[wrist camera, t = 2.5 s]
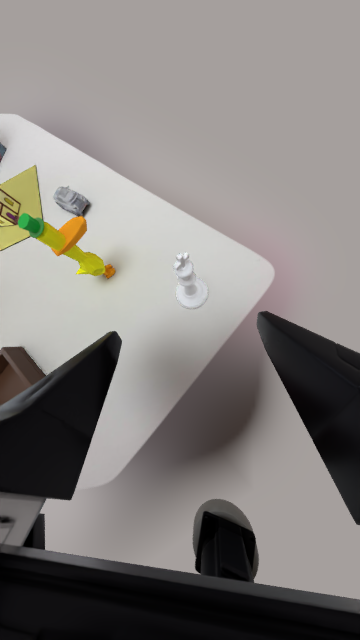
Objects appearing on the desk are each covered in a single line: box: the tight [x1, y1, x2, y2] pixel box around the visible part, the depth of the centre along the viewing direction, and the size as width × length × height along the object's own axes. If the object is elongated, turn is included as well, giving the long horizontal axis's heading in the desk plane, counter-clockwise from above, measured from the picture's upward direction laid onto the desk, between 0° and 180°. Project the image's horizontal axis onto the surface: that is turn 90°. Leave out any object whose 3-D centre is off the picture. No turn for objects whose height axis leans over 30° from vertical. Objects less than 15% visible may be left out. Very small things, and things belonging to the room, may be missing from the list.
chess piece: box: [173, 252, 208, 309], centre depth 17 cm, size 5×5×10 cm
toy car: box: [53, 186, 89, 217], centre depth 28 cm, size 4×8×3 cm, turn 57°
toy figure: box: [18, 213, 115, 278], centre depth 20 cm, size 7×4×12 cm, turn 135°
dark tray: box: [0, 347, 45, 406], centre depth 24 cm, size 14×12×3 cm
